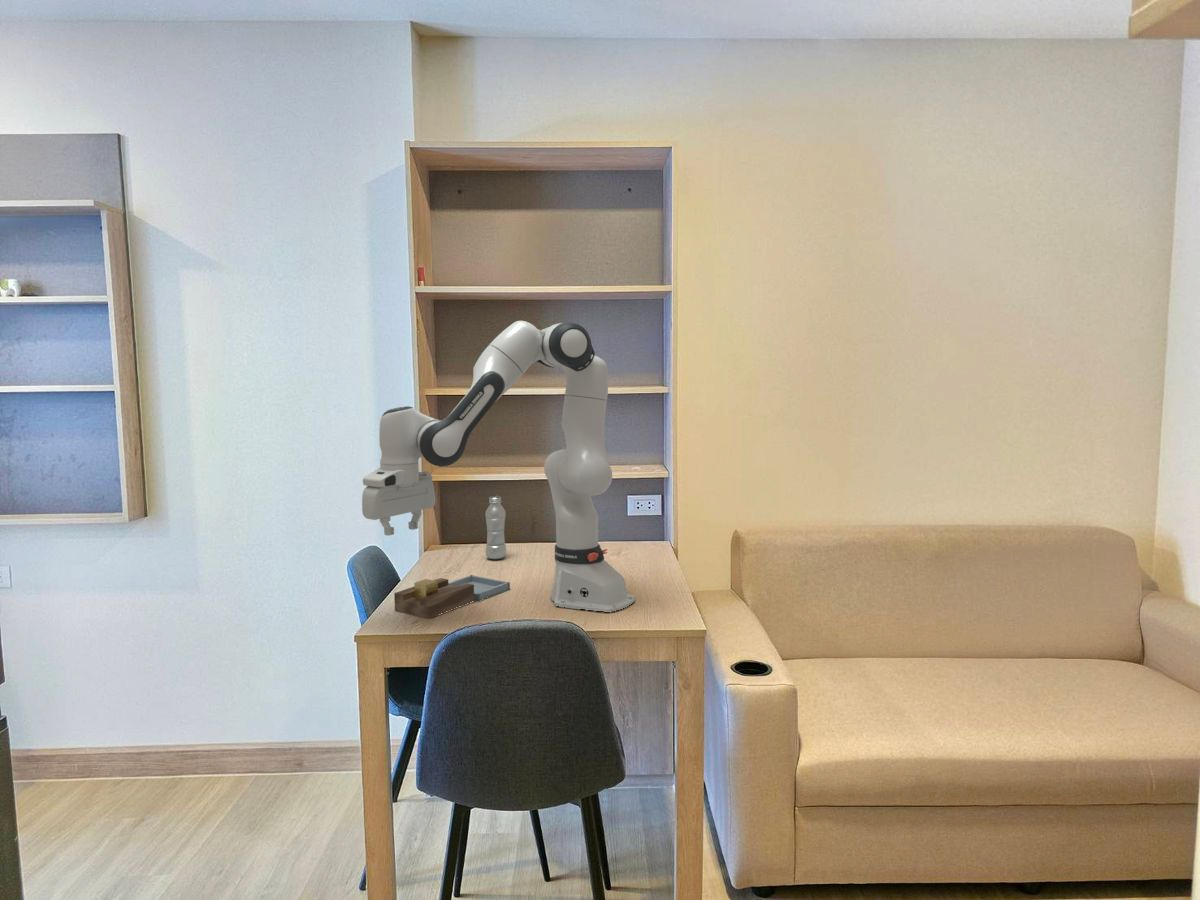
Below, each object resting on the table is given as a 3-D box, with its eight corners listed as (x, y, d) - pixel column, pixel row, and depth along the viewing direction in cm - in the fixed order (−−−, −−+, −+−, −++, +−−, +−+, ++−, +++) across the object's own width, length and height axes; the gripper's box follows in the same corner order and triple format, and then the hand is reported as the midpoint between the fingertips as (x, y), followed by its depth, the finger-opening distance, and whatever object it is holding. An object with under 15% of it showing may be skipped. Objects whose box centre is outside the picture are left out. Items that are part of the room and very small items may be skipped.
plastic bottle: (481, 559, 236) (480, 497, 234) (495, 555, 241) (494, 494, 239) (496, 562, 232) (495, 499, 230) (510, 558, 238) (509, 496, 236)
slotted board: (474, 601, 193) (473, 584, 192) (429, 618, 179) (428, 600, 179) (440, 594, 199) (440, 577, 199) (394, 610, 186) (394, 593, 185)
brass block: (437, 596, 187) (437, 581, 187) (426, 600, 184) (425, 585, 183) (426, 594, 189) (426, 579, 189) (414, 598, 186) (414, 582, 186)
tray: (509, 589, 204) (509, 582, 203) (477, 601, 193) (477, 594, 192) (471, 581, 211) (471, 574, 211) (438, 593, 200) (438, 586, 200)
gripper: (422, 469, 187) (423, 522, 189) (356, 479, 170) (358, 538, 172) (440, 470, 184) (441, 525, 185) (375, 481, 167) (377, 541, 168)
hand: (401, 531), depth 178 cm, fingers open, 6 cm apart
